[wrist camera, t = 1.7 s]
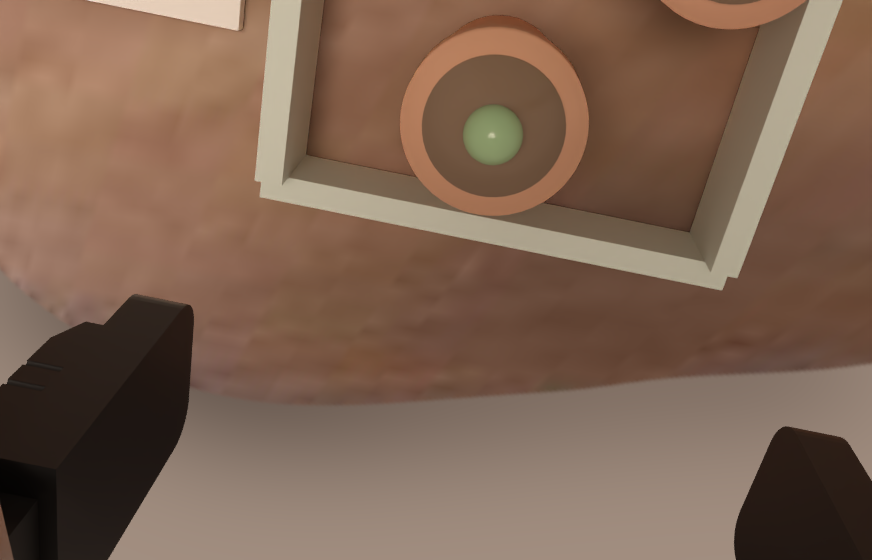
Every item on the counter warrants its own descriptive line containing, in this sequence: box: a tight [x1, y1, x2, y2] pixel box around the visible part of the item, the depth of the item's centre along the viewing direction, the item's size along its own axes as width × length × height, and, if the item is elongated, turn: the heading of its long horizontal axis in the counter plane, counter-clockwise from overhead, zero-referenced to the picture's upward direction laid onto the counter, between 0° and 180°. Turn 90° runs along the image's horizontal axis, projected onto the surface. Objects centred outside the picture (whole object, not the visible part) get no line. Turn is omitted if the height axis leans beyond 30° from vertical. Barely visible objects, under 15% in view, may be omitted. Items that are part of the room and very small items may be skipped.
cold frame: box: [255, 0, 843, 290], centre depth 23 cm, size 18×17×18 cm
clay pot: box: [400, 15, 589, 216], centre depth 28 cm, size 6×6×9 cm
